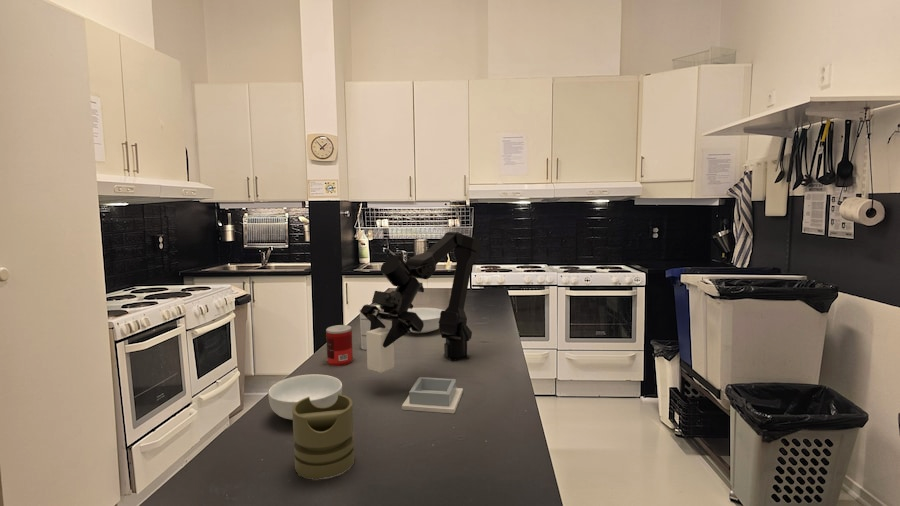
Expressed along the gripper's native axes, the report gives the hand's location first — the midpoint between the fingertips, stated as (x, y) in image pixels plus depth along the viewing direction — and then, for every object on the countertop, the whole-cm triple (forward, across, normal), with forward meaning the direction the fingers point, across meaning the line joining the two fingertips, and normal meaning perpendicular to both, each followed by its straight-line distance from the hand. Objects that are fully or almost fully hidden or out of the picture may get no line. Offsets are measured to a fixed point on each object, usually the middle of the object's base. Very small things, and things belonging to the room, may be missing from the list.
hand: (376, 345), depth 128 cm
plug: (+4, 0, +6) cm, 7 cm away
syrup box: (-10, -30, +29) cm, 43 cm away
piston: (+31, +15, -12) cm, 37 cm away
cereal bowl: (+23, -6, -4) cm, 24 cm away
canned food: (+2, -28, +18) cm, 33 cm away
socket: (+6, +15, +13) cm, 21 cm away
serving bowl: (-28, -30, +48) cm, 63 cm away
